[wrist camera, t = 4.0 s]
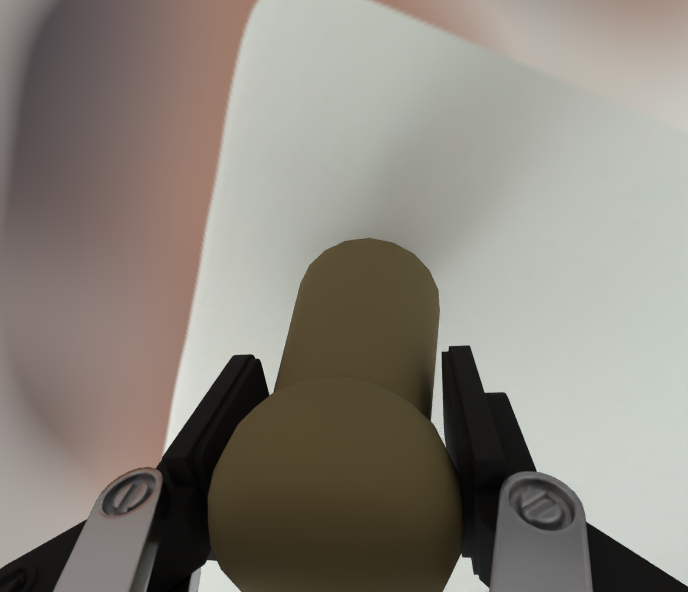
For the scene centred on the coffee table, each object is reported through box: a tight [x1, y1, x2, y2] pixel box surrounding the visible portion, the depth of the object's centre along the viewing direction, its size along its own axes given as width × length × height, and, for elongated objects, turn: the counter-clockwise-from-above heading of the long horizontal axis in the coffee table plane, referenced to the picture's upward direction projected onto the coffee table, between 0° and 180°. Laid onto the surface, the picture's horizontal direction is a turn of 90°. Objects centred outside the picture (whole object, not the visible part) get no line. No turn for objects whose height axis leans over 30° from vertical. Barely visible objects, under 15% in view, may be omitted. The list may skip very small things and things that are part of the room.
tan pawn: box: [208, 238, 464, 592], centre depth 12 cm, size 6×6×11 cm
